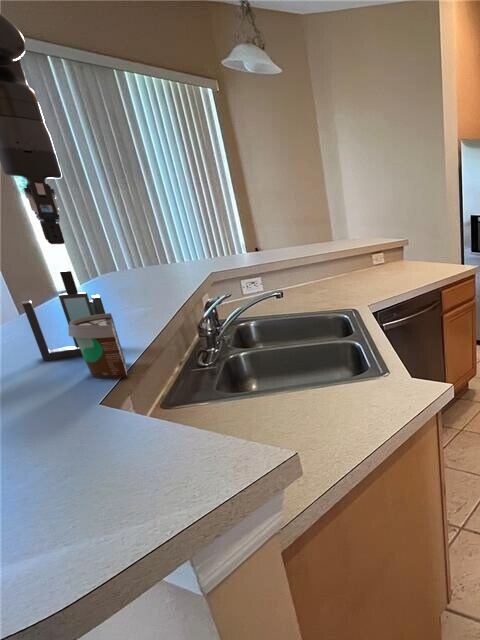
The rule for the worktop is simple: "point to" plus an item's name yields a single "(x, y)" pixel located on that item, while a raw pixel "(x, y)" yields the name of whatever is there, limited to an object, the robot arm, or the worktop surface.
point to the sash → (74, 300)
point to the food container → (99, 345)
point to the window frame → (35, 326)
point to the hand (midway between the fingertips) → (55, 242)
